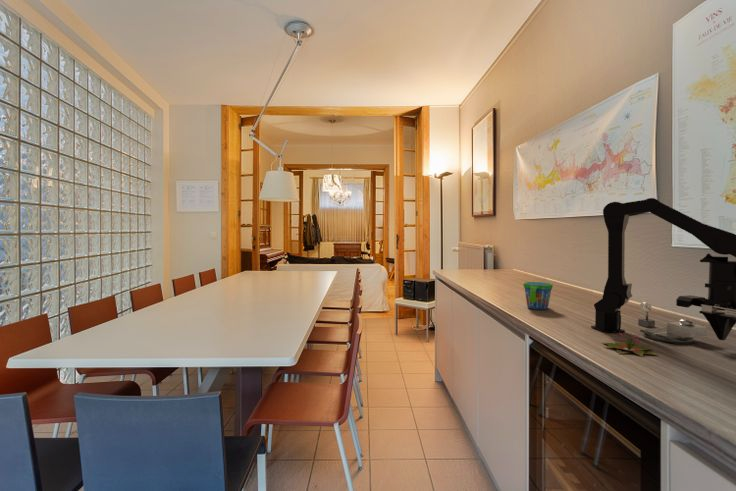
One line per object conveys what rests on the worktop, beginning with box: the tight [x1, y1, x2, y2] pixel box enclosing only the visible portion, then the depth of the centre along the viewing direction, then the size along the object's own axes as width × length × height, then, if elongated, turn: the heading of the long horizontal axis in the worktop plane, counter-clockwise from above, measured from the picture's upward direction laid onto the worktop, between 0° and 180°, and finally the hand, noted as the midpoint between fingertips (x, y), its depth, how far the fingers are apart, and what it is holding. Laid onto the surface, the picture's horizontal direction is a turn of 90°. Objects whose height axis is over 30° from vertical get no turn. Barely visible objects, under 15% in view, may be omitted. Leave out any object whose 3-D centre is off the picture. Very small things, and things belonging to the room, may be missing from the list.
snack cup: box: [523, 281, 554, 311], centre depth 139 cm, size 16×10×10 cm
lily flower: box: [603, 331, 659, 358], centre depth 90 cm, size 12×12×5 cm
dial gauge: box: [637, 301, 656, 328], centre depth 113 cm, size 3×3×8 cm
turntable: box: [639, 326, 695, 345], centre depth 100 cm, size 11×11×2 cm
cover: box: [666, 318, 708, 338], centre depth 98 cm, size 6×6×4 cm
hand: (721, 339), depth 90 cm, fingers closed
